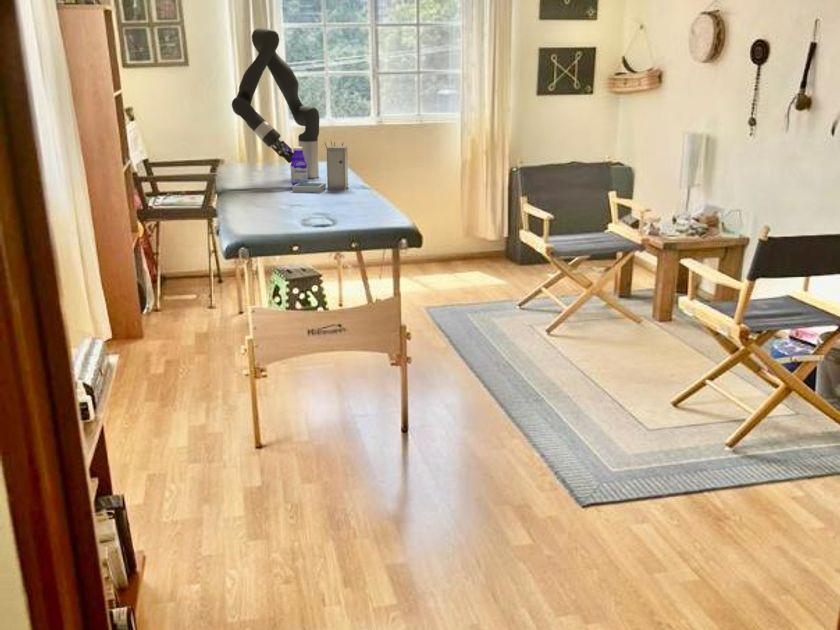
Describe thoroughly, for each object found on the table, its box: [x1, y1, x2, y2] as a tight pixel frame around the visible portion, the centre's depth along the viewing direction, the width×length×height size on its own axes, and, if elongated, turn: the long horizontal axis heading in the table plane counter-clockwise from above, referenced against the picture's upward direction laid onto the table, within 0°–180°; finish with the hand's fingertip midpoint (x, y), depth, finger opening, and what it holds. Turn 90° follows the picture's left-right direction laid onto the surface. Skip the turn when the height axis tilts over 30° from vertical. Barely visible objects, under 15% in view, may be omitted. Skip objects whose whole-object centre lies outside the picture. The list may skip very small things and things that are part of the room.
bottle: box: [290, 146, 309, 187], centre depth 359 cm, size 7×6×17 cm
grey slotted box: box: [326, 145, 349, 190], centre depth 355 cm, size 7×8×18 cm
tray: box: [291, 182, 327, 193], centre depth 351 cm, size 12×12×2 cm
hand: (293, 160), depth 359 cm, fingers open, 8 cm apart
